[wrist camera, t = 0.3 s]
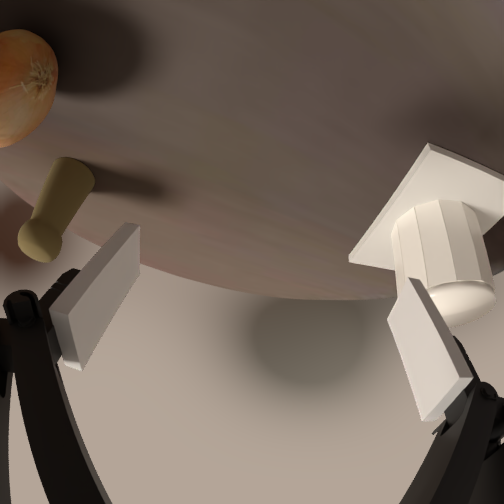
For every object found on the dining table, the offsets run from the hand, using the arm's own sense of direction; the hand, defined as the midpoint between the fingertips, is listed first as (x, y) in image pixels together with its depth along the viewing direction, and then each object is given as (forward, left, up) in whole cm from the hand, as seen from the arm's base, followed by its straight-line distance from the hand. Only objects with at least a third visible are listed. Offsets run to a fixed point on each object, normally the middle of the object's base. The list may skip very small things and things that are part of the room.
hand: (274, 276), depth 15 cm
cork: (+14, -22, -16) cm, 30 cm away
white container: (+11, +20, -14) cm, 27 cm away
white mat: (+11, +20, -15) cm, 27 cm away
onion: (-2, -22, -16) cm, 27 cm away
